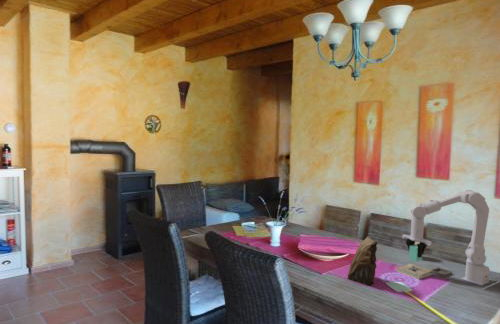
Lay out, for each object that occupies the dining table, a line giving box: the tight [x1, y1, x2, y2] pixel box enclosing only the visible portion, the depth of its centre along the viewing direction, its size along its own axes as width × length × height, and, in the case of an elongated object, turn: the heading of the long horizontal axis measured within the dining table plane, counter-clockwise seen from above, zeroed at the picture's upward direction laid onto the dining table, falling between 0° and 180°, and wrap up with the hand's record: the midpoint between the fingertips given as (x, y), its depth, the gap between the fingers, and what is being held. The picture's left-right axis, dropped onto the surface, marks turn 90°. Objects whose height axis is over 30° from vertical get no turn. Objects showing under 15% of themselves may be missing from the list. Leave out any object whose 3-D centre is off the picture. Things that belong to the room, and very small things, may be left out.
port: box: [396, 263, 433, 280], centre depth 184 cm, size 12×12×3 cm
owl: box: [346, 235, 378, 287], centre depth 172 cm, size 13×13×20 cm
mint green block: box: [408, 244, 423, 262], centre depth 183 cm, size 4×5×7 cm
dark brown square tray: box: [430, 267, 455, 279], centre depth 185 cm, size 9×9×2 cm
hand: (415, 255), depth 183 cm, fingers closed on mint green block, 4 cm apart
